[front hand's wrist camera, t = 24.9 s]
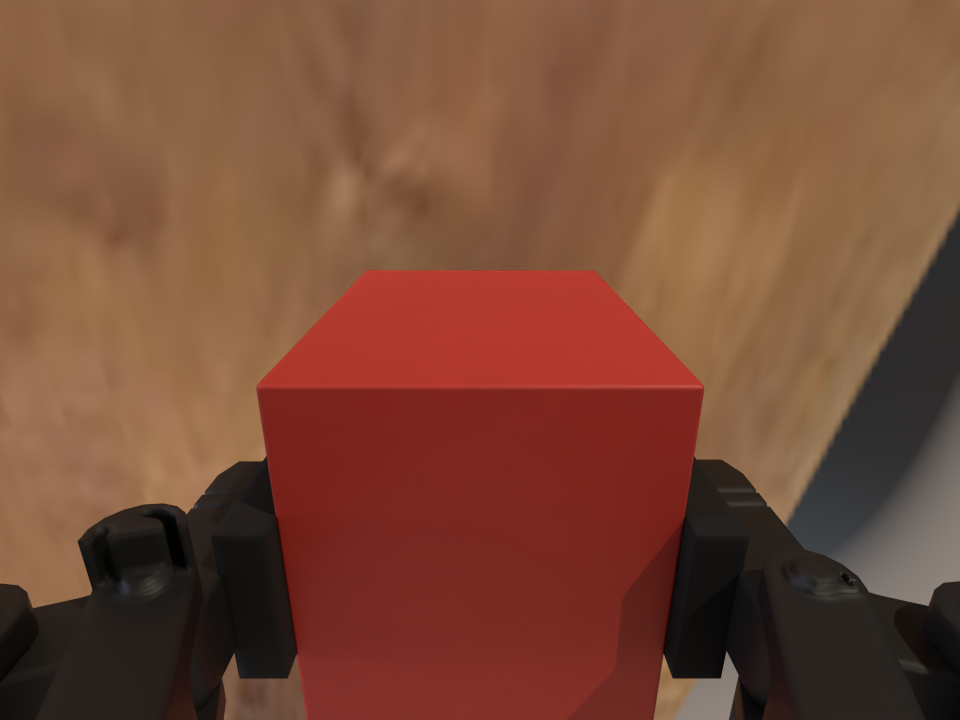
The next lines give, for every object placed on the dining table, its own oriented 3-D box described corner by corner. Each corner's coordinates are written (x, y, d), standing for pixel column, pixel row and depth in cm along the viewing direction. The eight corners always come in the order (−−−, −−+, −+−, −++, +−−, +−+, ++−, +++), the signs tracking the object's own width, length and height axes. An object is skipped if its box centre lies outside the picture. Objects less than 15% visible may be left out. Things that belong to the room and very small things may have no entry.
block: (381, 489, 17) (307, 738, 10) (365, 269, 15) (253, 385, 7) (579, 489, 17) (652, 738, 10) (595, 270, 15) (706, 386, 7)
